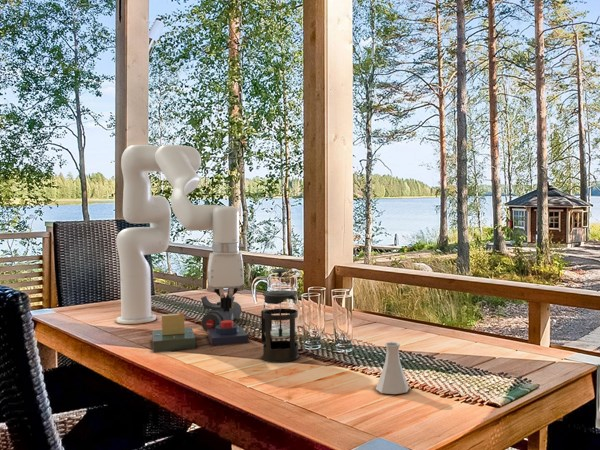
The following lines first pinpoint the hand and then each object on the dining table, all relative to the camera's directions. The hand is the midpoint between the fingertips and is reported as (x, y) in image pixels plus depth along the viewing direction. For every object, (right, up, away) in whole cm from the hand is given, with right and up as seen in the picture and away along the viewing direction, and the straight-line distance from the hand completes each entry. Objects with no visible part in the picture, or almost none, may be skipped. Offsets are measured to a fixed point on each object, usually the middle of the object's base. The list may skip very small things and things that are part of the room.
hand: (225, 310), depth 167 cm
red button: (0, -5, 0) cm, 5 cm away
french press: (+19, -10, -18) cm, 28 cm away
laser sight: (-6, -8, +18) cm, 21 cm away
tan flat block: (-14, -6, -6) cm, 16 cm away
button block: (0, -9, 0) cm, 9 cm away
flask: (+47, -11, -44) cm, 65 cm away
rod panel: (-14, -9, -5) cm, 17 cm away
